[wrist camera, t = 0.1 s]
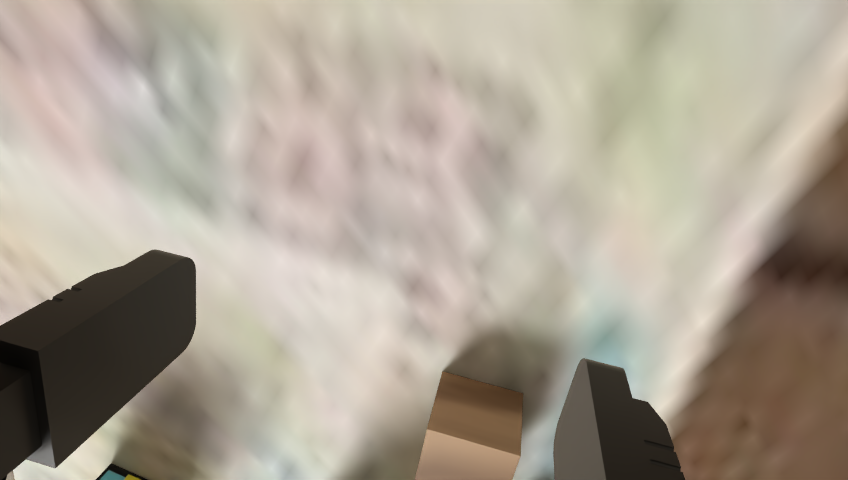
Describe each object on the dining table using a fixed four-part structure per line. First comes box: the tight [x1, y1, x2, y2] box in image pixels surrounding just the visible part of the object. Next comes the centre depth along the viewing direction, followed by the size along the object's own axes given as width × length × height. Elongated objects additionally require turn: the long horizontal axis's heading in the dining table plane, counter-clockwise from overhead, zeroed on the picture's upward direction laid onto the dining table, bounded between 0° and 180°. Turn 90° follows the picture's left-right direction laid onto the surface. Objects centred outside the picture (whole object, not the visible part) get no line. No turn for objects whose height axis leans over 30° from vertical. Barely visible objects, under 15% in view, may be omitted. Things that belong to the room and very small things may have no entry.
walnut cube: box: [415, 371, 523, 480], centre depth 31 cm, size 5×5×5 cm
